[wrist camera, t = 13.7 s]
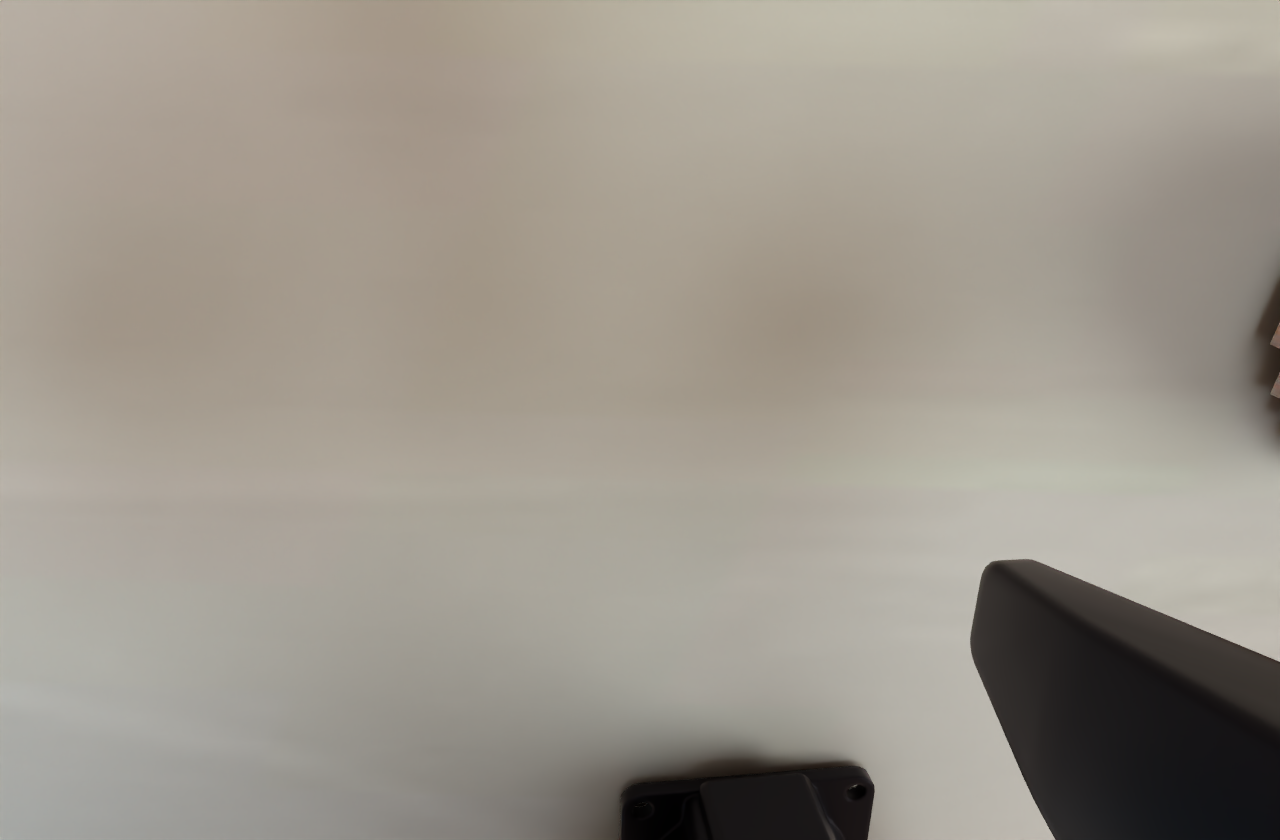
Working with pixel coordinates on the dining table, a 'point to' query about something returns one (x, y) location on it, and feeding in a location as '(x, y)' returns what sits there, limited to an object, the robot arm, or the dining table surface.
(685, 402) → the dining table surface
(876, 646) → the dining table surface
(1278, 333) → the decorative ornament
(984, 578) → the robot arm
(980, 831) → the dining table surface
